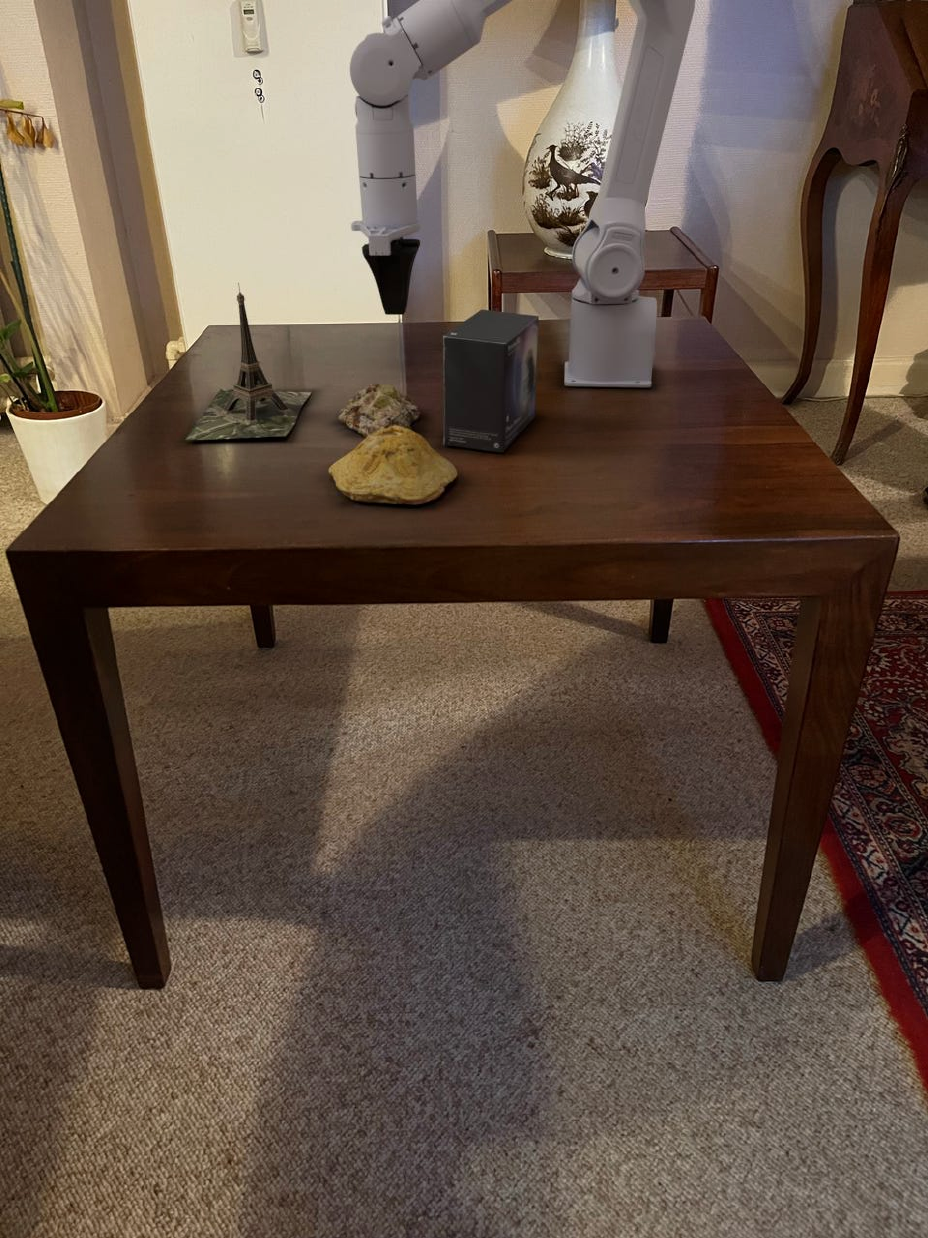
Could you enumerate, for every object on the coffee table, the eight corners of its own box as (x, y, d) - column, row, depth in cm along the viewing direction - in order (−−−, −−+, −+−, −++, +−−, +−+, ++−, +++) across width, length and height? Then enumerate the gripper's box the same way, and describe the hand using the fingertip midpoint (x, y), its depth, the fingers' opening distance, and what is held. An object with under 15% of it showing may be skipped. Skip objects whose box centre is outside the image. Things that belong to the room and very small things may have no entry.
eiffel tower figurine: (220, 393, 102) (199, 266, 95) (311, 392, 102) (298, 264, 95) (185, 444, 90) (159, 302, 83) (290, 442, 90) (273, 300, 83)
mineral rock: (326, 389, 96) (399, 362, 96) (341, 427, 98) (412, 399, 99) (343, 428, 87) (423, 398, 87) (359, 468, 90) (436, 438, 90)
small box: (506, 455, 86) (508, 341, 81) (441, 447, 88) (438, 335, 83) (538, 417, 95) (542, 312, 89) (478, 411, 96) (478, 307, 91)
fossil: (311, 429, 75) (363, 393, 83) (302, 493, 78) (352, 452, 87) (436, 477, 73) (476, 435, 82) (421, 540, 77) (461, 494, 85)
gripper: (361, 166, 100) (370, 296, 107) (333, 185, 88) (345, 330, 95) (426, 166, 99) (431, 296, 107) (407, 184, 87) (414, 331, 94)
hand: (395, 313), depth 101 cm, fingers closed
